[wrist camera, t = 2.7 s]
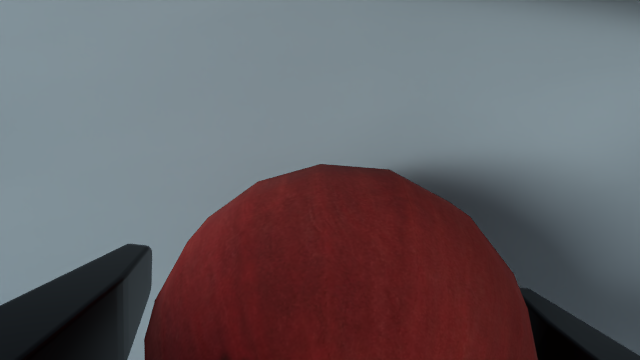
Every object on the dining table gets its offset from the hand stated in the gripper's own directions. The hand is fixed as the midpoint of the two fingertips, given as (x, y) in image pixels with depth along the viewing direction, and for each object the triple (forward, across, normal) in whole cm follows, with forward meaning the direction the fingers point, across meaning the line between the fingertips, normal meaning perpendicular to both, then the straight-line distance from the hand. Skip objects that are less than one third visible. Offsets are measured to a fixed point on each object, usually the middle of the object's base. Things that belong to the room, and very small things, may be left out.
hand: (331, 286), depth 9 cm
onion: (+2, 0, 0) cm, 2 cm away
